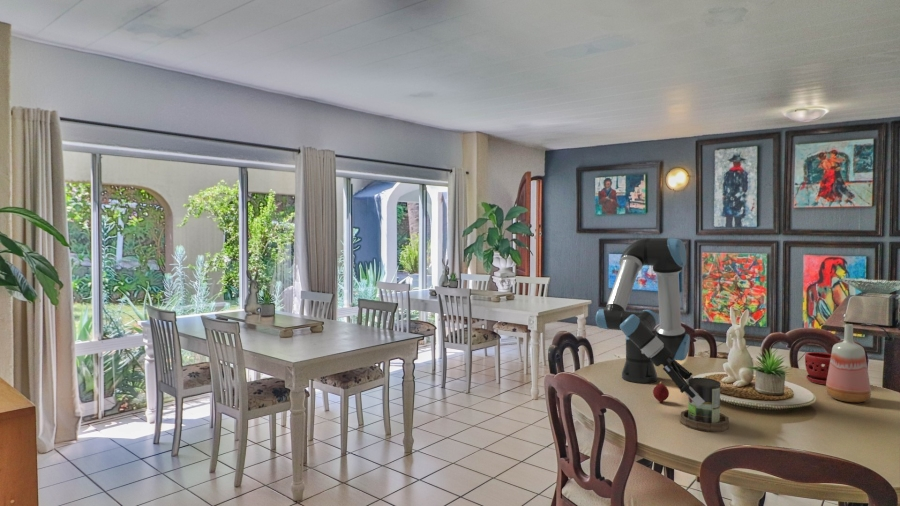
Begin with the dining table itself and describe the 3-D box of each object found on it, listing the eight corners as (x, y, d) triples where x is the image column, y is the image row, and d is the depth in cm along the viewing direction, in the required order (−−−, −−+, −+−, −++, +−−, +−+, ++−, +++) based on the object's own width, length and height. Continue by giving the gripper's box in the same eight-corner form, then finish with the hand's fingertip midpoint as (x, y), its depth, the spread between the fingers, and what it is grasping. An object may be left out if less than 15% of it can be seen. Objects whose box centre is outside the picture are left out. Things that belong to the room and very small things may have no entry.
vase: (829, 402, 216) (830, 326, 215) (822, 392, 229) (824, 320, 228) (874, 407, 210) (876, 329, 208) (865, 396, 223) (867, 322, 222)
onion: (670, 404, 216) (670, 384, 216) (654, 404, 217) (654, 383, 217) (667, 400, 222) (667, 380, 222) (652, 399, 223) (652, 379, 223)
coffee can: (697, 427, 190) (697, 386, 190) (682, 416, 201) (682, 378, 200) (726, 425, 191) (726, 385, 190) (709, 415, 201) (710, 376, 201)
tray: (682, 414, 206) (682, 407, 206) (728, 419, 199) (728, 412, 199) (679, 427, 192) (679, 420, 192) (728, 434, 186) (728, 426, 185)
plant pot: (842, 387, 234) (843, 359, 234) (805, 383, 241) (805, 356, 240) (839, 380, 246) (839, 353, 245) (803, 376, 252) (804, 350, 252)
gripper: (652, 350, 214) (694, 394, 208) (645, 366, 191) (692, 415, 186) (667, 338, 211) (710, 381, 206) (661, 352, 188) (710, 402, 183)
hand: (701, 398), depth 196 cm, fingers open, 13 cm apart
